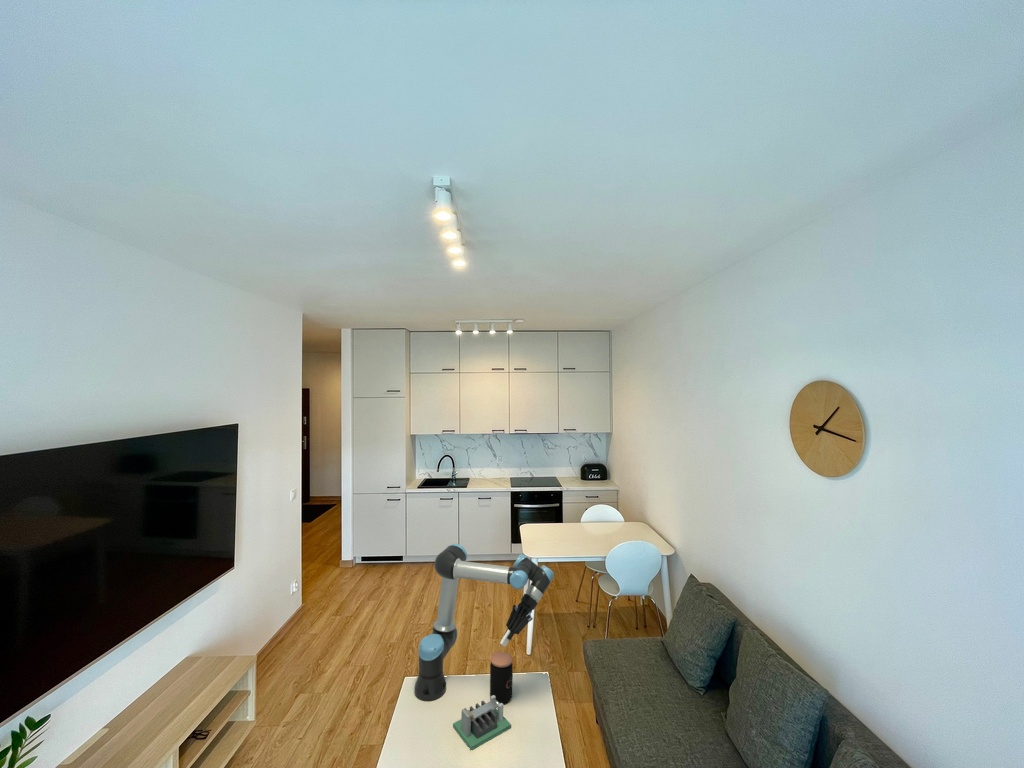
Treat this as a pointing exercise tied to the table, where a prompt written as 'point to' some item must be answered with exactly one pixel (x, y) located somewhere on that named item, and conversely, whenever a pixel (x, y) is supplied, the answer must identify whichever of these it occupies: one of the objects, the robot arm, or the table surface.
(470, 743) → the cpu board
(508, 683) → the coffee jar
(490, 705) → the silver flat bar
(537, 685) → the table surface
